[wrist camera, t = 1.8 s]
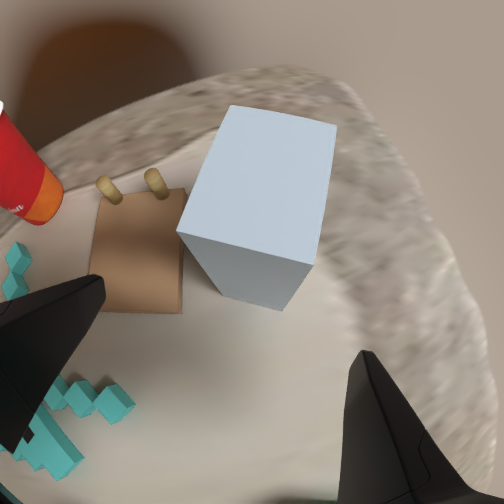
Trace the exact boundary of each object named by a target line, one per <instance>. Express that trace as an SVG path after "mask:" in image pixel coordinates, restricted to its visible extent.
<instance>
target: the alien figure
mask: <svg viewBox="0 0 504 504" xmlns="http://www.w3.org/2000/svg"><path fill="white" fill-rule="evenodd" d="M5 258H6V260H7V263H8V265H9V268H10V270H11V272H10V273H9V275H8V276H7V278H6V280H5V281H4V283H3V284H2V286H1V287H2V290H3V292H4V294H5V297H6V299H7V301H9V300H13V299H15V298H18V297H21V296H24V295H26V294H27V293H28V291H29V289H28V287H27V285H26V283H25V281H24V279H23V277H22V275H23V273H24V272H25V270H26V269H27V267H28V266H29V264H30V263H31V262H32V258H31V256H30V254H29V252H28V250H27V248H26V247H25V246H23V245H21V244H19V243H18V242H15V243H14V245H13V246H12V247H11V249H10V250H9V252H8V253H7V255H6V256H5ZM44 400H45V401H46V403H47V404H48V406H49V407H50V409H51V410H52V411H54V410H59V409H64V407H65V406H66V405H67V404H69V406H70V407H71V408H72V410H73V411H74V412H75V413H76V415H77V416H78V417H79V418H81V417H85V416H88V415H90V414H91V413H92V412H93V411H94V410H95V409H96V408H97V409H98V410H99V412H100V413H101V414H102V415H103V416H104V417H105V418H106V420H107V421H108V422H109V423H110V424H111V425H112V424H114V423H116V422H118V421H120V420H122V419H123V418H124V417H125V416H126V415H127V414H128V412H129V411H130V410H131V409H132V408H133V407H134V406H135V405H136V404H135V403H134V402H133V401H132V399H131V398H130V397H129V396H128V395H127V394H126V393H125V392H124V391H123V390H122V389H121V388H120V386H119V385H118V384H115V385H110V386H107V387H106V388H105V389H104V390H103V391H102V392H101V394H100V395H98V393H97V392H96V391H95V390H94V389H93V387H92V386H91V385H90V384H89V382H88V381H87V380H83V381H75V382H74V383H73V385H72V386H71V387H70V388H69V387H68V386H67V384H66V383H65V381H64V380H63V379H62V377H61V376H57V378H56V380H55V381H54V383H53V384H52V386H51V388H50V389H49V391H48V392H47V394H46V396H45V397H44ZM3 451H7V450H6V449H5V448H4V447H3V446H2V445H1V444H0V452H3ZM10 454H11V453H10ZM11 455H12V456H13V458H14V459H15V461H19V460H22V459H26V460H27V462H28V463H29V464H30V466H31V467H32V468H33V470H34V471H37V470H39V469H42V468H44V467H45V468H46V469H47V470H48V472H49V473H50V474H51V475H52V476H53V477H54V479H55V480H56V481H58V480H60V479H62V478H64V477H66V476H67V475H68V474H69V473H70V472H71V471H72V470H73V469H74V468H75V467H76V466H77V465H78V464H79V463H80V462H81V461H82V460H83V459H84V458H85V457H84V456H83V455H82V454H81V453H80V452H79V451H78V450H77V448H76V447H75V446H74V445H73V444H72V443H71V441H70V440H69V439H68V438H67V436H66V435H65V434H64V433H63V431H62V430H61V429H60V428H59V426H58V425H57V424H56V422H55V421H54V420H53V418H52V417H51V416H50V414H49V413H48V411H47V410H46V409H45V407H44V406H43V404H42V403H41V404H40V406H39V408H38V409H37V411H36V413H35V414H34V417H33V418H32V420H31V422H30V424H29V426H28V427H27V429H26V431H25V433H24V435H23V437H22V439H21V441H20V443H19V444H18V446H17V448H16V450H15V452H14V454H11Z"/></svg>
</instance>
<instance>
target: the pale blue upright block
mask: <svg viewBox="0 0 504 504" xmlns="http://www.w3.org/2000/svg"><path fill="white" fill-rule="evenodd" d="M336 130H337V126H335V125H332V124H328V123H324V122H320V121H316V120H311V119H307V118H303V117H298V116H293V115H288V114H283V113H278V112H273V111H267V110H261V109H255V108H249V107H242V106H235V105H231V106H230V108H229V110H228V112H227V114H226V116H225V118H224V120H223V122H222V124H221V126H220V128H219V130H218V132H217V135H216V137H215V139H214V141H213V143H212V145H211V148H210V150H209V152H208V154H207V157H206V159H205V161H204V163H203V166H202V168H201V170H200V173H199V175H198V177H197V180H196V182H195V184H194V187H193V189H192V192H191V194H190V197H189V199H188V201H187V204H186V206H185V209H184V211H183V214H182V217H181V219H180V222H179V224H178V227H177V230H176V232H177V233H178V234H179V236H180V237H181V239H182V240H183V242H184V243H185V244H186V246H187V247H188V249H189V250H190V251H191V253H192V254H193V256H194V257H195V258H196V260H197V261H198V263H199V264H200V265H201V267H202V268H203V269H204V271H205V272H206V274H207V275H208V276H209V278H210V279H211V280H212V282H213V283H214V284H215V286H216V287H217V288H218V290H219V291H220V292H221V294H222V295H223V296H226V297H229V298H233V299H237V300H240V301H244V302H248V303H252V304H255V305H259V306H263V307H267V308H271V309H275V310H279V311H283V309H284V308H285V306H286V305H287V304H288V302H289V301H290V299H291V298H292V296H293V295H294V293H295V292H296V291H297V289H298V288H299V286H300V285H301V283H302V282H303V280H304V279H305V277H306V276H307V274H308V273H309V271H310V270H311V268H312V267H313V265H314V261H315V256H316V251H317V246H318V241H319V236H320V231H321V226H322V220H323V215H324V209H325V203H326V198H327V192H328V185H329V179H330V173H331V166H332V160H333V153H334V145H335V138H336Z"/></svg>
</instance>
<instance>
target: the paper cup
mask: <svg viewBox="0 0 504 504" xmlns="http://www.w3.org/2000/svg"><path fill="white" fill-rule="evenodd" d="M62 199H63V186H62V184H61V183H60V181H59V180H58V179H57V178H56V176H55V175H54V174H53V173H52V172H51V170H50V169H49V168H48V167H47V166H46V164H45V163H44V162H43V161H42V159H41V158H40V157H39V156H38V155H37V153H36V152H35V151H34V150H33V148H32V147H31V146H30V145H29V143H28V142H27V141H26V140H25V138H24V137H23V136H22V134H21V133H20V132H19V130H18V129H17V128H16V126H15V125H14V124H13V122H12V121H11V120H10V118H9V117H8V116H7V114H6V113H5V111H4V110H3V102H2V101H0V206H2V207H3V208H5V209H7V210H8V211H10V212H12V213H13V214H15V215H17V216H19V217H20V218H22V219H24V220H26V221H28V222H30V223H32V224H34V225H42V224H45V223H46V222H48V221H49V220H50V219H51V218H52V217H53V216H54V215H55V213H56V212H57V210H58V209H59V207H60V205H61V202H62Z"/></svg>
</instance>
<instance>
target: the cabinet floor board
mask: <svg viewBox="0 0 504 504" xmlns="http://www.w3.org/2000/svg"><path fill="white" fill-rule="evenodd" d="M144 179H145V180H146V182H147V184H148V185H149V187H150V188H151V190H152V191H149V192H139V193H131V194H121V193H120V191H119V190H118V189H117V188H116V186H115V185H114V184H113V183H112V182H111V180H110V179H109V178H108V177H107V176H106V175H103V176H100V177H99V178H98V179H97V181H96V187H97V188H98V189H99V190H100V191H101V192H102V193H103V194H104V195H105V197H101V201H100V206H99V211H98V216H97V221H96V227H95V232H94V239H93V245H92V252H91V259H90V268H89V275H90V274H97V275H99V276H102V277H103V279H104V283H105V289H106V300H105V302H104V304H103V306H102V307H101V309H100V311H99V312H119V313H148V314H182V279H183V252H184V242H183V240H182V239H181V237H180V236H179V234H178V233H177V232H176V230H177V227H178V224H179V222H180V219H181V217H182V214H183V211H184V209H185V206H186V203H187V194H186V192H185V189H184V188H180V189H168V188H167V186H166V184H165V182H164V180H163V178H162V177H161V175H160V173H159V171H158V169H156V168H150V169H148V170H147V171H146V172H145V174H144Z"/></svg>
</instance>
